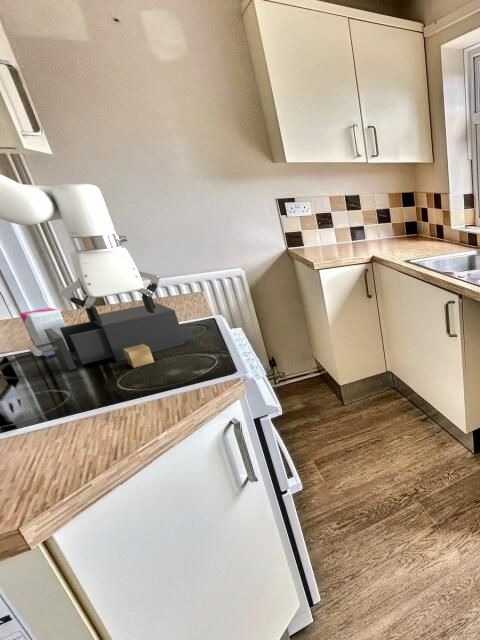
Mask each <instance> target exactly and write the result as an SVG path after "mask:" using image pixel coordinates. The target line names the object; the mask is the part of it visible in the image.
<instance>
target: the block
mask: <svg viewBox="0 0 480 640" xmlns="http://www.w3.org/2000/svg"><path fill="white" fill-rule="evenodd" d="M123 351H124V353H125V356H126V358H127V360H126V361H127V363H128V365H129V366H131V367H132V368H133V369H135V368H138V367H142V366H146V365H149V364H152V363H155V359H154V357H153V353H151V352H150V349H149V347H148V346H146V345H144V344H141V345H137V346H133V347H129V348H125V349H123Z"/></svg>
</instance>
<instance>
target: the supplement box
mask: <svg viewBox="0 0 480 640" xmlns="http://www.w3.org/2000/svg"><path fill="white" fill-rule="evenodd" d="M19 315H20V317H21V321H22V322H23V324H24V326H25V329H26V331H27V333H28V335H29V338H30V341H31V342H32V344H35V345H39V344H44V343H48V342H50V341H49V339H48V337H47V335H46V332H45V330H44V329H48V328H51V329H53V330H54V331H55V332H56V333H57V334H59V335H60V336H61V337H62V338H63V340H64V342H65V344H66V341H65V339H64V337H63V335H62V332H61V330H60V327H65V326H67V325H66V323H65V321H64V318H63V316H62V313H61V310H60V309H56V308H52V307H46V308H40V309H36V310H29V311H24V312H20V313H19ZM66 347H67V349H68V351H69V353H70V350H69V348H68V346H67V344H66ZM49 348H52V346H51V345H48V346H44V347H40V348H39V349H40V350H41V351H42V350H45V349H49ZM40 357H44V358H46V359H50V358H53V357H56V354H55V352H54V351H50V352H46V353H43V354H42V355H41V356H40Z"/></svg>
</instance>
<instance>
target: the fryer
mask: <svg viewBox="0 0 480 640" xmlns="http://www.w3.org/2000/svg"><path fill="white" fill-rule="evenodd" d="M154 304H155V307H156V308H154V313H149V312H147V310H146V308H145V305H144V304H143V305H138V306H133V307H128V308H123V309H119V310H114V311H108V312H102V313H98V314H99V317H100V319H101V321H102V324H101V325H99V326H100V327H102V328H103V330H104V333H105V335H106V338H107V340H108V343H109V345H110V348H111V350H112V353H113V355H114V357H110V358H111V359H112V360H113V361H114V362H116V363H119V362H123V361H127V358H126V356H125V353H124V351H123V349H125V348H129V347H133V346H137V345H141V344H144V345H146V346H148V347H149V349H150V352H151V354H153V353H156V352H157V353H158V352H160V351H164V350H167V349H172V348H175V347H179V346H182V345H186V340H185V337H184V334H183V332H182V328H181V325H180V322H179V319H178V315H177V313H176V310H175V309H173V308H171V307H168V306H166V305H163V304H161V303H158V302H154ZM87 319H88V322H90V319H89V317H88V316H87ZM93 322H94V321H93ZM94 323H95V322H94ZM97 325H98V324H97Z"/></svg>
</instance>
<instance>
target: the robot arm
mask: <svg viewBox="0 0 480 640" xmlns="http://www.w3.org/2000/svg"><path fill="white" fill-rule="evenodd" d="M0 220H2V221H6V222H8V223H11V224H14V225H20V226H33V225H37V224H42V223H47V222H52V221H58V220H61V221H62V223H63V224H64V228H65V229H66V232H67V234H68V237H69V240H70V242H71V244H72V246H73V249H74V251H73V252H70V258H71V262H72V263H71V264H72V266H73V271H74V273H75V274H74V275H75V277H76V280H75V281H73V282H72V283H70V284H68V285H67V286H65V287H64V288H62V289H60V290H59V292H58V293H59V294H60V295H61V296H62V297H64V298H65V299H66V300H68V301H69V302H71V303H72V304H74V305H77V306H80V307H83V308H84V309H85V312H86V314H87V318H88V317H89V319H90V321H91V322H93V321H94V322H95V323H96V324H98V325H101V324H102V321H101V319H100V317H99V314H100V313H99V312H98V310H97V307H95V306H94V303H96V300H97V299H99V298H105V297H111V296H116V295H122V294H127V293H128V294H129V293H133V292H139V293H141V294H142V295H141V300H142V302H143V305H145V308H146V310H147V312H149V313H154V308H156V307H155V304H154V303H155V301H154V299H153V296H154V293H155V292H156V290H157V289H158V285H159V282H160V276H159V275H157V274H153V273H149V272H145V271H140V270H138V268H137V266H136V264H135V262H134V260H133V258H132V256H131V255H130V253H129V251H128V249H127V248H126V247H125V246H122V243H125V242H128V238H127V236H126V235H119V234H118V233H117V232H116V229H115V227H114V224H113V222H112V218H111V215H110V213H109V210H108V208H107V204H106V202H105V199H104V197H103V195H102V192H101V190H100V188H99V187H98V186H97V185H94V184H91V183H65V184H64V183H63V184H56V185H37V184H26V183H25V184H24V183H23V184H22V183H20V182H17V181H15V180H13V179H11V178H9V177H7V176H5V175H3V174H1V173H0ZM142 278H144V279H148V280H150V282H149V284H148V285H147V287H144V283H143V279H142ZM79 289H80V290H81V292H82V294H83V295H85V296H84V297H83V299H80V298H78V297H76V296H75V295H74V294H73V293H74V292H75V291H77V290H79ZM89 319H88V320H89ZM90 321H89V322H90Z"/></svg>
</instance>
